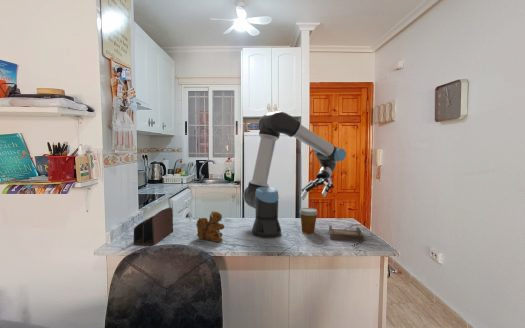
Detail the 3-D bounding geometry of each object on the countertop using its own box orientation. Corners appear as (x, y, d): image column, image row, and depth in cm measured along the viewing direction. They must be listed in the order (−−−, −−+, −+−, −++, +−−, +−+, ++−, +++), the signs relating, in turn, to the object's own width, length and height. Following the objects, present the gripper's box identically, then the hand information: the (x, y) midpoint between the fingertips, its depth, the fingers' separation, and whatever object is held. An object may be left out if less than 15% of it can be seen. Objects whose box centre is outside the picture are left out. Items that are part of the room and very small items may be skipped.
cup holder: (329, 229, 146) (329, 224, 146) (358, 231, 143) (358, 226, 143) (330, 239, 131) (330, 233, 131) (363, 241, 128) (363, 236, 128)
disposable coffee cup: (316, 229, 146) (316, 207, 145) (318, 235, 136) (318, 212, 136) (298, 228, 147) (299, 207, 146) (299, 234, 137) (299, 211, 136)
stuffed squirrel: (223, 242, 125) (223, 214, 124) (193, 242, 125) (192, 214, 124) (225, 235, 135) (225, 209, 134) (197, 234, 135) (197, 209, 134)
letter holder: (173, 232, 139) (173, 205, 138) (154, 246, 119) (153, 215, 118) (155, 231, 140) (154, 204, 139) (133, 245, 120) (132, 214, 120)
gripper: (345, 176, 155) (335, 199, 140) (309, 183, 171) (296, 204, 156) (340, 166, 153) (329, 187, 138) (304, 174, 169) (291, 194, 154)
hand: (312, 196), depth 147 cm, fingers open, 13 cm apart
